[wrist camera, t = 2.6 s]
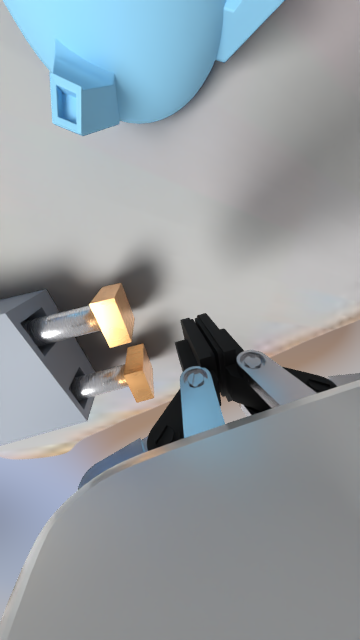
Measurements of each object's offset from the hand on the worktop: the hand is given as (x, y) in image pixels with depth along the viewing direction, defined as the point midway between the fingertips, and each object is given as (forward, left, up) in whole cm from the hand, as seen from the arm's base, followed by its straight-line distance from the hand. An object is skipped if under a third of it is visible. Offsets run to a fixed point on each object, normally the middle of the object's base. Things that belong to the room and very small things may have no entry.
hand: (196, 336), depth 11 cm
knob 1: (+11, 0, -9) cm, 15 cm away
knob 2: (+11, +8, -9) cm, 17 cm away
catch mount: (+18, +4, -11) cm, 22 cm away
